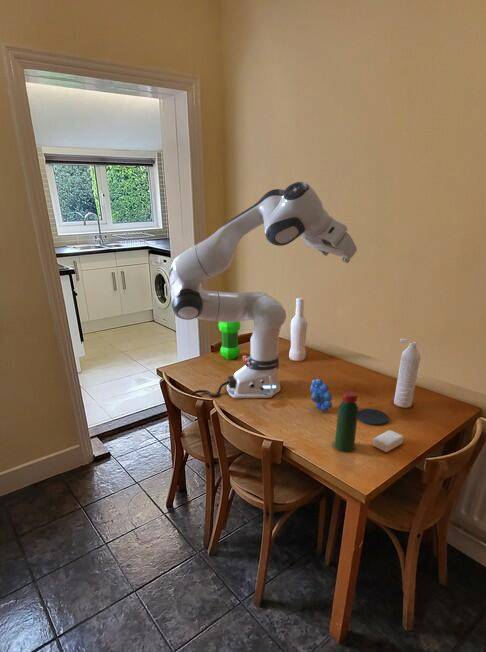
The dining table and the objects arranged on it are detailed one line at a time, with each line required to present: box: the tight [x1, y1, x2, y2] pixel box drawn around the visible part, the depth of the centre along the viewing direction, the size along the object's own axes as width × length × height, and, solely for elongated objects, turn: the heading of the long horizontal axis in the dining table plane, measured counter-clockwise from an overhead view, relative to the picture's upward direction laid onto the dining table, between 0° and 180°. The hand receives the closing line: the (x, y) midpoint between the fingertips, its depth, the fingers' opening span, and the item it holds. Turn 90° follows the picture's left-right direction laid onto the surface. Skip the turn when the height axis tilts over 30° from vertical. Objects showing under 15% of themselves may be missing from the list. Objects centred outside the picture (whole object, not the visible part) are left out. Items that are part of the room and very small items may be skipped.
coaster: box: [357, 408, 389, 426], centre depth 148 cm, size 11×11×1 cm
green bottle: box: [334, 400, 360, 453], centre depth 128 cm, size 6×6×18 cm
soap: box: [372, 429, 404, 453], centre depth 132 cm, size 9×6×3 cm, turn 126°
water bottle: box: [393, 337, 421, 409], centre depth 153 cm, size 9×6×25 cm
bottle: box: [288, 297, 308, 362], centre depth 196 cm, size 8×8×30 cm
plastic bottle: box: [217, 321, 241, 360], centre depth 199 cm, size 10×10×25 cm
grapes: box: [309, 378, 333, 413], centre depth 152 cm, size 12×7×12 cm, turn 30°
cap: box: [342, 390, 358, 403], centre depth 124 cm, size 4×4×2 cm
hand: (336, 257), depth 133 cm, fingers open, 8 cm apart
